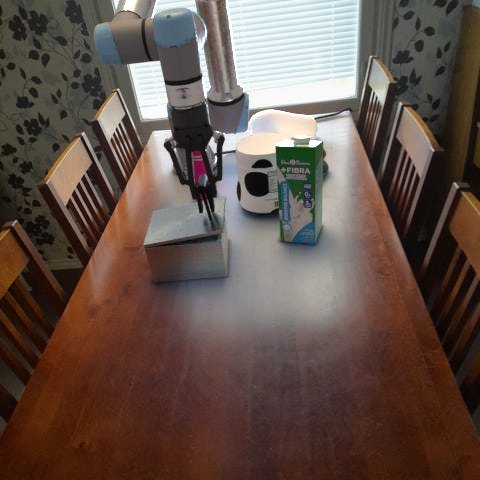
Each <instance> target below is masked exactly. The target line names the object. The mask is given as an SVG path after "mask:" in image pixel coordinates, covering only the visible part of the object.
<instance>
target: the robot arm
mask: <svg viewBox="0 0 480 480" xmlns="http://www.w3.org/2000/svg"><path fill="white" fill-rule="evenodd" d="M194 2H195V7H196V8H195V9H196V12H195V11H193V10H191V8H190V9H189V8H187V7H176V8H175V7H174V8H168V9H165V10H161V11H157V12H156V13H155V11H156V7H157V4H158V0H118V4H117V7H116V9H115V12H114V14H113V18H112V20H111V21H109V22H108V21H104V22H102V23H98V24H97V25H95V27H94V29H93V41H94V48H95V50H96V53H97V56H98V58H99V60H100V61H101V62H102V63H103V64H104V65H105V66H121V67H122V66H126V65H135V64H142V63H152V62H153V63H154V62H159V63H160V68H161V74H162V77H163V83H164V87H165V88H164V89H165V93H166V98H167V103H166V112H167V119H168V122H169V128H170V133H171V136H170V137H166V138H165V139H164V142H163V148H164V149H165V150H166V151H167V153H168V154H169V156H170V160H171V162H172V168H173V171H174V173H175V174H176V175H177V178H178V182H179V184H180V185H181V186H188V187H189V191H190V196H191V199H192V200H196V202H197V203H198V208H199V213H200V214H201V213H203V203H202V201H203V200H202V197H201V194H200V193H198V191H197V187H198V182H195V174H194V162H193V151H200V153H201V156H202V159H203V162H204V166H205V169H206V173H207V176H208V180H209V181H207V191H208V197H209V203H210V208H211V212H214V211H215V204H214V198H218V189H217V183H218V182H221V181H223V176H224V175H223V172H224V169H223V168H224V167H223V166H224V164H223V163H224V161H223V160H224V159H223V158H224V157H223V155H228V154H234V153H235V154H236V149H231V150H223V148H224V144H225V141H226V135H233V134H234V135H236V134H241V133H246V132H247V131H248V130H249V122H250V92H247V91H245V87H244V85H243V84H242V83H240V82H239V78H238V71H237V63H236V55H235V54H236V53H235V47H234V39H233V31H232V22H231V21H232V20H231V15H230V7H229V6H230V5H229V0H194ZM202 51H203V52H204V59H205V65H206V72H207V75H208V76H207V77H208V81H209V88H208V89H207V91H206V88H205V87H206V86H205V81H204V80H205V79H204V76H203V70H202V63H201V54H200V53H201V52H202ZM347 111H349V112H350V113H351V112H354V110H353V108H351V107H344V108H343V109H341V110H339V111H337V112H333V113H328V114H324V115H320V116H316V117H315V116H314V117H313V118H314V119H315V121H317V120H322V119H327V118H332V117H335V116H338V115H340V114H342V113H344V112H347ZM212 138H213V142H214V143H215V144H216V152H214V150H213V148H212V145H211V144H210V142H211V140H212ZM215 168H216V173H215V171H214V169H215Z"/></svg>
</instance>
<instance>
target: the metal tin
mask: <svg viewBox="0 0 480 480" xmlns="http://www.w3.org/2000/svg"><path fill="white" fill-rule="evenodd" d="M143 248H144V247H143ZM144 252H145V256H146V259H147V262H148V263H147V264H148V266H149V269H150V273H151V276H152V279H153V282H154V283H165V282H166V283H167V282H179V281H189V280H201V279H212V278H213V279H214V278H223V277H224V278H225V277H228V265H229V264H228V262H229V260H228V259H229V235H228V227H227V221H226V219H225V220H224V233H220V234H215V235H210V236H205V237H199V238H194V239H189V240H184V241H179V242H173V243H168V244H163V245H158V246H152V247H147V248H144Z"/></svg>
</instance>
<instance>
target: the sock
mask: <svg viewBox="0 0 480 480" xmlns="http://www.w3.org/2000/svg"><path fill="white" fill-rule="evenodd" d="M314 118H315V117H313V116H311V115H308V114H307V115H306V114H299V113H291V112H286V111H282V110H276V109H266V110H262V111H259V112H256V113H254V114H253V115H252V117H250V118H249V124H248V130H249V133H250V134H251V135H253V134H259V133H271V132H272V133H281V134H284V135H287V136H288V137H290V138H291V140H293V137H294V136H310V140H314V141H316V137H317V135H318V130H319V129H318V128H319V127H318V123H317V120H315V119H314Z"/></svg>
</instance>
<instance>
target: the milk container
mask: <svg viewBox="0 0 480 480" xmlns="http://www.w3.org/2000/svg"><path fill="white" fill-rule="evenodd" d="M286 140H291V138H290V137H288V136H287V135H284V134H281V133H272V132H271V133H259V134H253V135H252V134H251V135H248V136H244V137H243V138H241V139H239V140H238V141H237V142H236V144H235V150H236V153H235V164H236V170H237V183H236V198H237V201H238V204H239V205H240V206H241V207H242V209H243V210H245V211H247V212H249V213H251V214H256V215H272V214H277V213H278V214H279V203H278V185H277V167H276V149H275V146H277V145H278V144H280V143H282V142H284V141H286Z"/></svg>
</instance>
